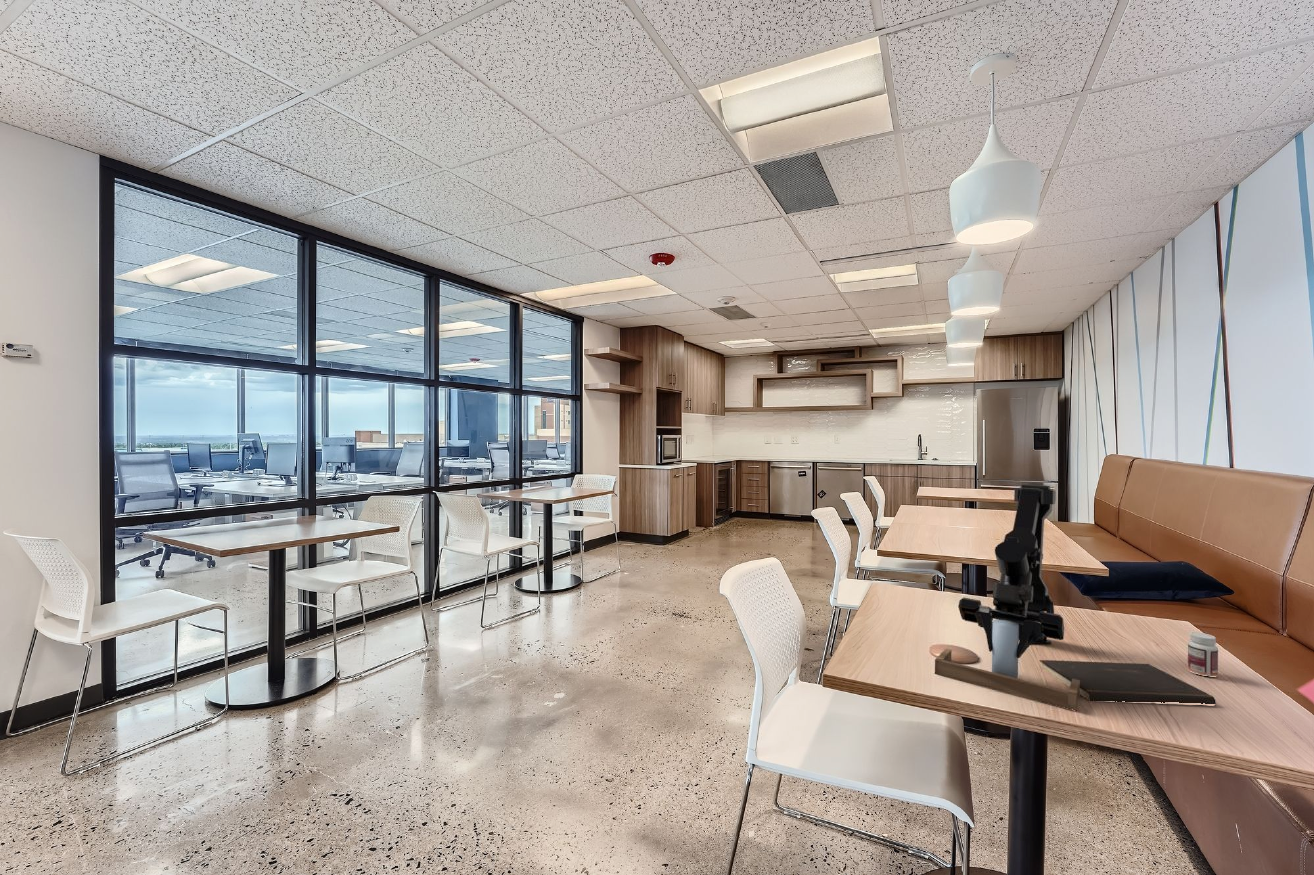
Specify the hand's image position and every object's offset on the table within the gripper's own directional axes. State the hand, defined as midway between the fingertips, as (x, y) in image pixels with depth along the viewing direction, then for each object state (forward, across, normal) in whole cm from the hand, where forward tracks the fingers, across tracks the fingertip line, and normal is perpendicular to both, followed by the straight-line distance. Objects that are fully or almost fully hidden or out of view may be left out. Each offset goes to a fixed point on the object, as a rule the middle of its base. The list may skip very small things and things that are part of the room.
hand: (1003, 653), depth 115 cm
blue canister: (+4, 0, +6) cm, 7 cm away
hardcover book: (-7, +18, +17) cm, 26 cm away
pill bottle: (-21, +32, +31) cm, 49 cm away
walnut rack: (+4, 0, +6) cm, 7 cm away
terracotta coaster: (-3, -12, +12) cm, 17 cm away
